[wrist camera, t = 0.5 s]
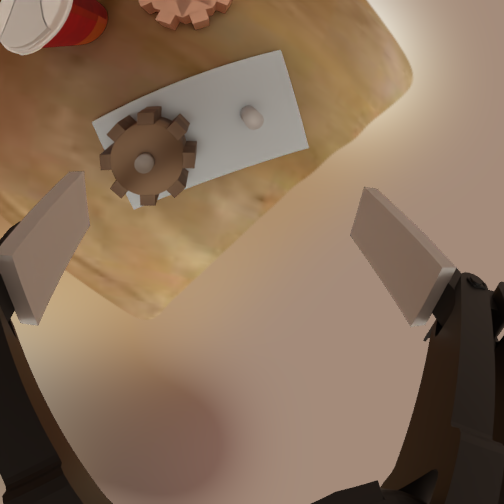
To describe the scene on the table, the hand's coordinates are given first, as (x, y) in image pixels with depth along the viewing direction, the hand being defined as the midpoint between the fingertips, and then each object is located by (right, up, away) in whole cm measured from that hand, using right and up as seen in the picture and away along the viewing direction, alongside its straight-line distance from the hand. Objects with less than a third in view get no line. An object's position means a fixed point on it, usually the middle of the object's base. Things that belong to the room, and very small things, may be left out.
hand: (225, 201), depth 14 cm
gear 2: (-10, +9, +19) cm, 23 cm away
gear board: (-5, +12, +20) cm, 24 cm away
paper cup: (-18, +24, +11) cm, 31 cm away
